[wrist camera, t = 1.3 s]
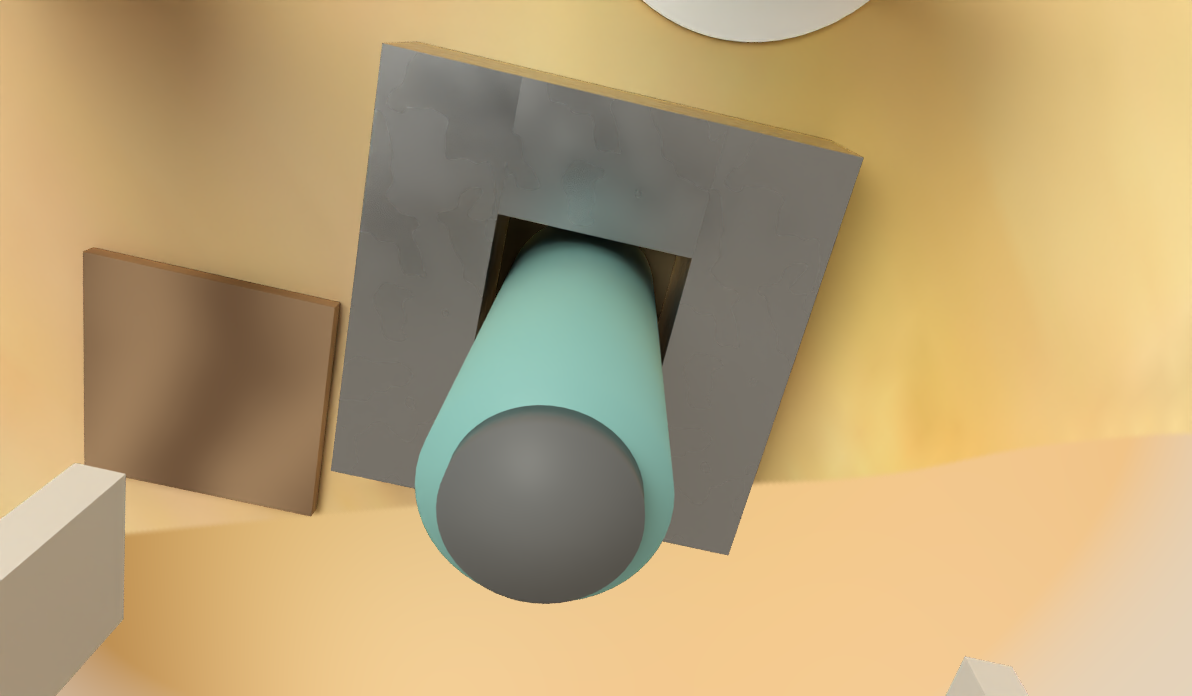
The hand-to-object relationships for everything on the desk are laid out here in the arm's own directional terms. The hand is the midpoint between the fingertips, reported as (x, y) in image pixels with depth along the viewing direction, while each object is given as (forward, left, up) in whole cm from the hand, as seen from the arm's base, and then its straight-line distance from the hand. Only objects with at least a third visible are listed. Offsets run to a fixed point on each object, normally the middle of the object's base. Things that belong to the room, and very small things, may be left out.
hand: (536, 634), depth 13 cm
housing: (0, 0, -18) cm, 18 cm away
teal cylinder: (0, 0, -18) cm, 18 cm away
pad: (-13, -7, -18) cm, 23 cm away
